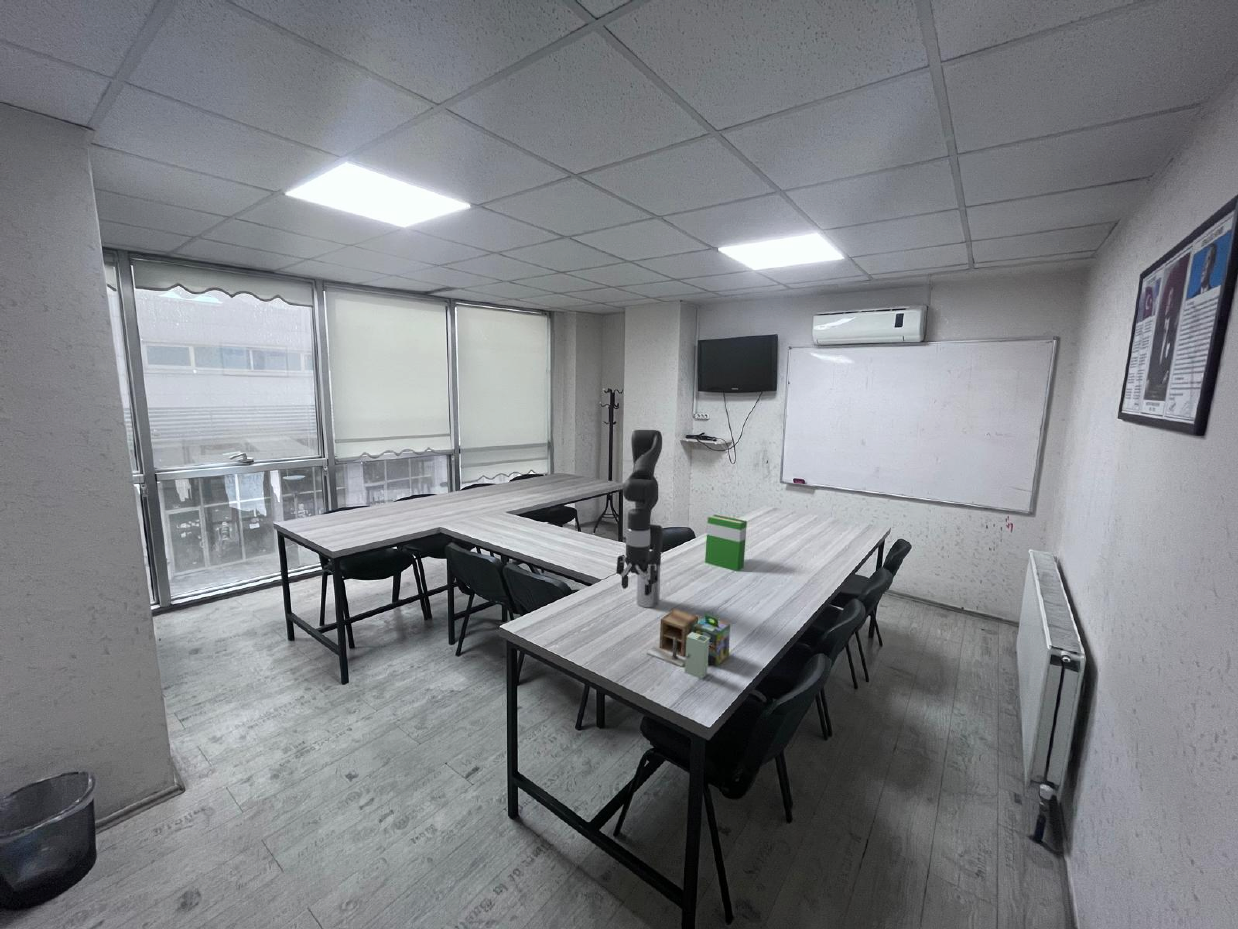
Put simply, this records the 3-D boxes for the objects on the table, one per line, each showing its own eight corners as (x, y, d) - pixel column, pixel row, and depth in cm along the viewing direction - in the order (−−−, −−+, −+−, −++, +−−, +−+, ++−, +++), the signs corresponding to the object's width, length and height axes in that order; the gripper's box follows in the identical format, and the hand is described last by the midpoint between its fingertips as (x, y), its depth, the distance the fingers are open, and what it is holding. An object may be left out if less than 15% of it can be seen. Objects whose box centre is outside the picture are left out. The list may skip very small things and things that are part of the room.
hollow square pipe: (689, 666, 158) (691, 632, 156) (707, 673, 155) (709, 637, 153) (683, 673, 155) (685, 637, 153) (701, 680, 151) (703, 643, 149)
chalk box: (729, 656, 165) (732, 614, 163) (715, 667, 158) (718, 624, 156) (705, 646, 171) (707, 606, 169) (691, 657, 164) (693, 615, 162)
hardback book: (705, 562, 253) (707, 517, 249) (711, 559, 258) (714, 514, 255) (737, 571, 242) (740, 524, 238) (743, 567, 248) (746, 521, 244)
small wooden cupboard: (668, 636, 177) (669, 607, 176) (701, 647, 170) (703, 617, 168) (646, 654, 165) (648, 623, 163) (681, 667, 158) (683, 635, 156)
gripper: (663, 544, 154) (661, 593, 156) (626, 535, 162) (624, 582, 164) (650, 550, 148) (648, 601, 150) (612, 540, 156) (611, 589, 158)
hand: (636, 591), depth 157 cm, fingers open, 8 cm apart
